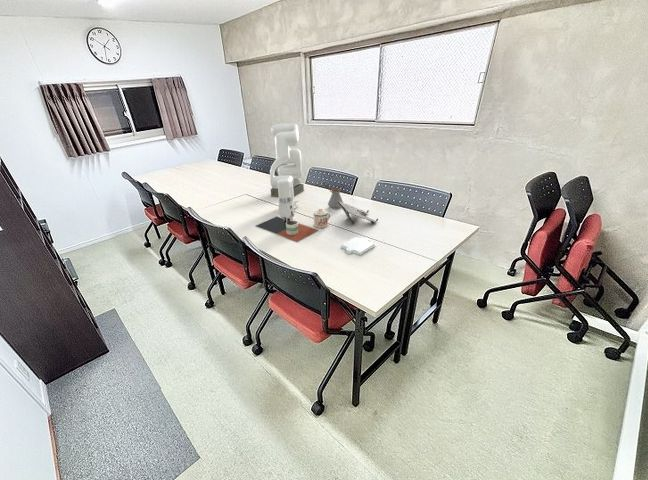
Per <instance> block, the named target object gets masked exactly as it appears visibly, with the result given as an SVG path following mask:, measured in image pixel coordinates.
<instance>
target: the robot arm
mask: <svg viewBox="0 0 648 480" xmlns="http://www.w3.org/2000/svg"><path fill="white" fill-rule="evenodd" d="M270 131H271V135H272V136H273V138H274V147H275V160H274V161H273V163H272V164H271V166H270V170H269V182H270V186H271V189H272V188H274V189H277V188H278V195H279V197H278V215H279V217H280V218H283V221H284V224H285V227H286V222H287V221H291V220H294V217H295V209H296V208H298V207H297V206H298V205H297V204H298V203H299V200H298V199H295V196H294V191H293V182H294V181H293V178H298V179H300V178H302V176H303V162H302V152H301V150H300V149H299V148H295V147H297V146H298V145H299V139H300V133H299V126H298V124H297V123H296V122H287V123H275V124H273V125H272V126H271V127H270ZM291 147H294V148H291ZM281 164H288V165H282V166H280V165H281ZM278 166H280V167H279V168H278V175H279V176H276V175H275V170H276V168H277V167H278Z"/></svg>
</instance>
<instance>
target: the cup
mask: <svg viewBox="0 0 648 480" xmlns="http://www.w3.org/2000/svg"><path fill="white" fill-rule="evenodd" d="M298 224H299V221H297V220H294V219H293V220H290V221H287V222H286V233H287V234H288V235H295V234H298V232H299V230H298Z"/></svg>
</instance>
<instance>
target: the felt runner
mask: <svg viewBox="0 0 648 480" xmlns="http://www.w3.org/2000/svg"><path fill="white" fill-rule="evenodd" d="M255 227H258V228H260V229H262V230H264V231H267V232H271V233H273V234H275V235H278V236H281V237H284V238H286V239H288V240H290V241H294V242H296V243H297V242H300V241H301V240H303V239H305V238H307V237H309V236H310V235H312V234H315V233H316V232H318V231H319V229H318V228H317V229H316V228H313V227H311V226H307V225H304V224H302V223H298V230H299V232H298V234H295V235H288V234H287V233H286V227H285V224H284V221H283V218H282V217H280V216H275V217H272V218H270V219H268V220H266V221H263V222H261V223H259V224H256V225H255Z"/></svg>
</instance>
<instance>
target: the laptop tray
mask: <svg viewBox="0 0 648 480" xmlns="http://www.w3.org/2000/svg"><path fill="white" fill-rule="evenodd" d="M337 202H338V203H339V204H340V206H341V209H342V210H343V212H344V214H345V216H346V217H347V218H348V220H349V221H350V222H351V223H352V224H354V222H353V219H352V217H351V216H350V215H352V216H356V217H357V218H361V219H364V220H366V221H369V222H370V223H371V224H375V223H377V222H378V220H379V218H376V220H375V219H372V218H370V217H368V216H365V215H368V213H369V212H370V210H369V209H368V210H366V211H365V210H364V209H363V210H362V209H360V208H358V207H355V206H353V205H351V204H348V203H345V202H343V203H342V202H340V201H337ZM363 214H364V215H363Z"/></svg>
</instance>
